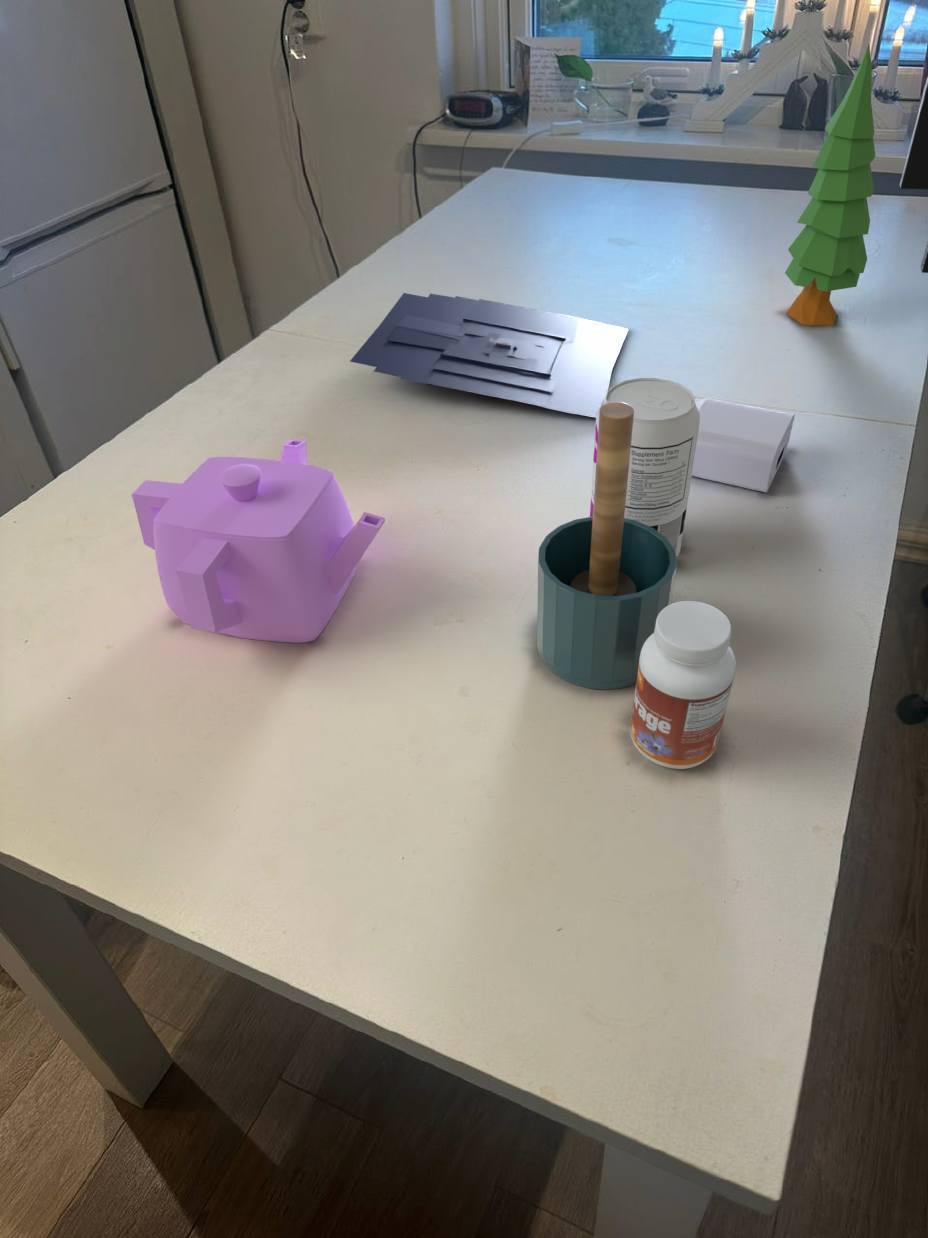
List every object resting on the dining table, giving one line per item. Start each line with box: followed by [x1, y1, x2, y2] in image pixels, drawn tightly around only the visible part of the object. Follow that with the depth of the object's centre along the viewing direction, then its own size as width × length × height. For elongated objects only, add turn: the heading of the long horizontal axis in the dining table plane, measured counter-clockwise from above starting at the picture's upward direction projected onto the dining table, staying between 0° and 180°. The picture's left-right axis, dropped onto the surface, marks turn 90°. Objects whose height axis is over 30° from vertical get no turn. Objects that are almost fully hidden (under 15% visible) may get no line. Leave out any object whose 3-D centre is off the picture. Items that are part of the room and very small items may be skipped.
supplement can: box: [589, 377, 701, 558], centre depth 74 cm, size 8×8×15 cm
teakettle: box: [131, 438, 386, 644], centre depth 73 cm, size 17×17×12 cm
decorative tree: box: [784, 43, 877, 327], centre depth 103 cm, size 10×9×30 cm
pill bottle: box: [629, 600, 737, 770], centre depth 59 cm, size 6×6×11 cm
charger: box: [692, 397, 795, 493], centre depth 88 cm, size 5×9×15 cm
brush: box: [570, 402, 636, 596], centre depth 63 cm, size 5×5×20 cm
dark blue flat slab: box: [349, 292, 629, 418], centre depth 107 cm, size 24×30×4 cm
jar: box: [536, 516, 678, 690], centre depth 67 cm, size 10×10×9 cm
